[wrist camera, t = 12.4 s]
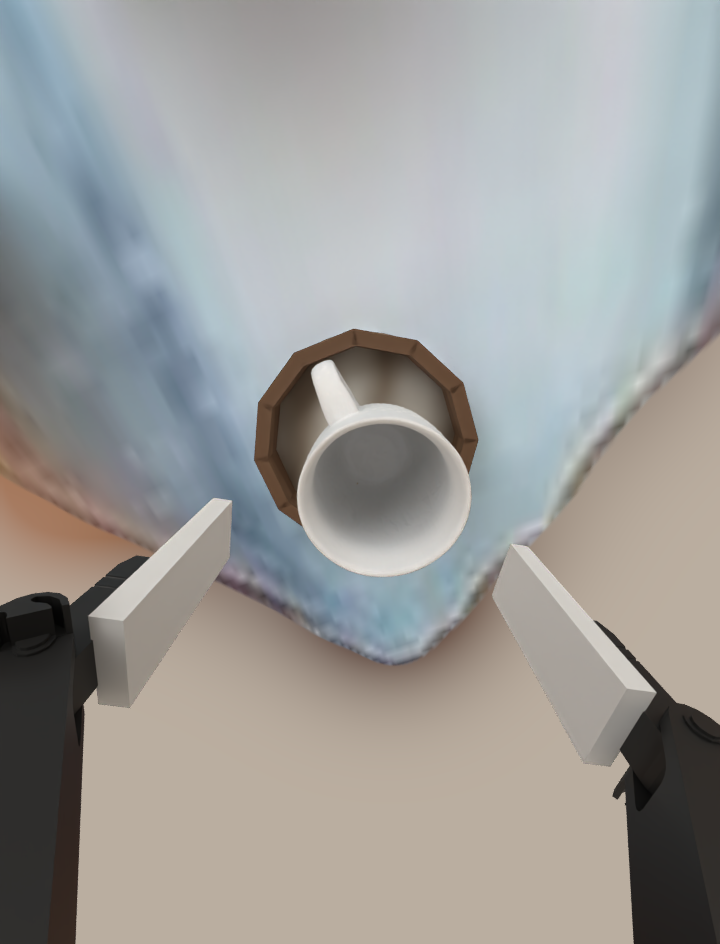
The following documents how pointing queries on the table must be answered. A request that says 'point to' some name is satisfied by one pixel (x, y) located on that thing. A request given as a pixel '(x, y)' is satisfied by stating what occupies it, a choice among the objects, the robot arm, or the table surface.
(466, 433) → the holder
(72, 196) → the table surface
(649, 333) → the table surface
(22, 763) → the robot arm
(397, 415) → the mug
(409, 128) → the table surface
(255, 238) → the table surface
